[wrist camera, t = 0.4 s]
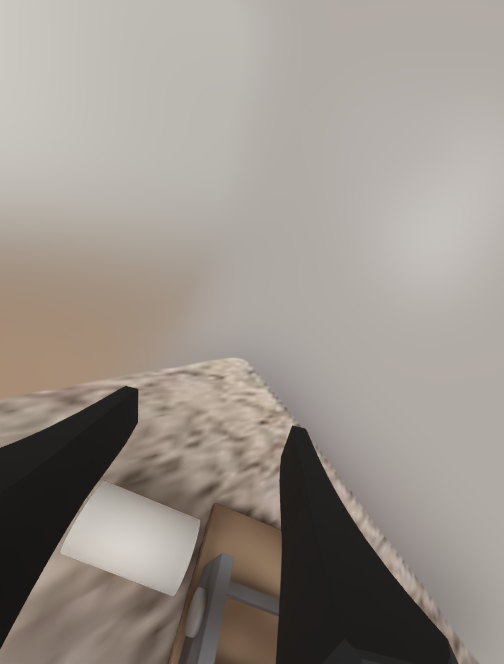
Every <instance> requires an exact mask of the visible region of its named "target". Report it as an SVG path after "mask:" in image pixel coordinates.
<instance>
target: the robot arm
mask: <svg viewBox="0 0 504 664" xmlns="http://www.w3.org/2000/svg"><path fill="white" fill-rule="evenodd" d="M137 423H138V389H136V388H132V387H128V386H125V387H123V388H121V389H119V390H117V391H116V392H114V393H112V394H110V395H109V396H107V397H105V398H103V399H102V400H100V401H98V402H96V403H94V404H93V405H91V406H89V407H87V408H85V409H84V410H82V411H80V412H78V413H76V414H74V415H72V416H70V417H68V418H66V419H64V420H62V421H60V422H58V423H56V424H54V425H52V426H50V427H48V428H46V429H44V430H42V431H40V432H37V433H35V434H33V435H31V436H28V437H26V438H24V439H21V440H19V441H17V442H14V443H12V444H9V445H6V446H4V447H1V448H0V649H1V647H2V645H3V643H4V641H5V639H6V637H7V635H8V633H9V632H10V630H11V628H12V626H13V624H14V622H15V620H16V618H17V617H18V615H19V613H20V611H21V609H22V607H23V605H24V604H25V602H26V600H27V598H28V596H29V594H30V592H31V591H32V589H33V587H34V585H35V583H36V582H37V580H38V578H39V576H40V575H41V573H42V571H43V569H44V567H45V566H46V564H47V562H48V560H49V559H50V557H51V555H52V553H53V552H54V550H55V548H56V547H57V545H58V543H59V542H60V540H61V538H62V537H63V535H64V533H65V531H66V530H67V528H68V526H69V525H70V523H71V522H72V520H73V518H74V517H75V515H76V513H77V512H78V510H79V509H80V507H81V505H82V504H83V502H84V501H85V499H86V498H87V496H88V495H89V493H90V492H91V490H92V489H93V488H94V486H95V485H96V484H97V482H98V481H99V480H100V478H101V477H102V476H103V474H104V473H105V471H106V470H107V469H108V467H109V466H110V465H111V463H112V462H113V461H114V459H115V458H116V456H117V455H118V454H119V452H120V451H121V450H122V448H123V447H124V445H125V444H126V442H127V441H128V439H129V437H130V436H131V434H132V432H133V430H134V428H135V427H136V425H137ZM279 481H280V509H281V534H282V558H281V582H280V601H279V619H278V635H277V650H276V664H458V662H457V659H456V657H455V655H454V653H453V651H452V648H451V646H450V644H449V642H448V639H447V638H446V637H445V636H444V635H443V633H442V632H441V631H440V630H439V629H438V628H437V627H436V625H435V624H434V623H433V622H432V621H431V620H430V619H429V618H428V616H427V615H426V614H425V613H424V612H423V611H422V610H421V608H420V607H419V606H418V605H417V604H416V603H415V602H414V600H413V599H412V598H411V597H410V596H409V595H408V593H407V592H406V591H405V590H404V588H403V587H402V586H401V585H400V583H399V582H398V581H397V580H396V579H395V577H394V576H393V575H392V574H391V572H390V571H389V570H388V568H387V567H386V566H385V564H384V563H383V562H382V560H381V559H380V558H379V556H378V555H377V554H376V552H375V551H374V550H373V548H372V547H371V546H370V544H369V543H368V541H367V540H366V539H365V537H364V536H363V534H362V533H361V531H360V530H359V528H358V527H357V525H356V524H355V522H354V521H353V519H352V518H351V516H350V514H349V513H348V511H347V510H346V508H345V506H344V505H343V503H342V501H341V500H340V498H339V496H338V494H337V492H336V491H335V489H334V487H333V485H332V483H331V481H330V480H329V478H328V476H327V474H326V472H325V470H324V468H323V466H322V464H321V462H320V460H319V457H318V455H317V453H316V451H315V449H314V446H313V444H312V442H311V439H310V437H309V435H308V432H307V430H306V429H305V428H301V427H296V426H292V428H291V430H290V433H289V436H288V439H287V442H286V444H285V447H284V450H283V453H282V456H281V465H280V480H279Z"/></svg>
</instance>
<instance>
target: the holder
mask: <svg viewBox="0 0 504 664" xmlns="http://www.w3.org/2000/svg"><path fill="white" fill-rule="evenodd" d="M281 558H282V534H281V530H279V529H277V528H274V527H272V526H270V525H267V524H265V523H262V522H260V521H258V520H255V519H253V518H250V517H248V516H246V515H243V514H241V513H238V512H236V511H234V510H231V509H229V508H227V507H224V506H222V505H219V504H217V503H215V504H214V505H213V507H212V510H211V514H210V517H209V521H208V525H207V528H206V532H205V535H204V539H203V542H202V546H201V549H200V553H199V556H198V560H197V563H196V567H195V570H194V574H193V577H192V581H191V584H190V588H189V592H188V595H187V599H186V602H185V606H184V609H183V613H182V616H181V620H180V623H179V627H178V630H177V634H176V637H175V641H174V644H173V648H172V651H171V655H170V658H169V662H168V664H276V650H277V635H278V619H279V601H280V582H281Z"/></svg>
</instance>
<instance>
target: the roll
mask: <svg viewBox="0 0 504 664" xmlns="http://www.w3.org/2000/svg"><path fill="white" fill-rule="evenodd" d="M199 527H200V520H199V519H197V518H194V517H192V516H190V515H187V514H185V513H182V512H180V511H177V510H175V509H172V508H170V507H168V506H165V505H163V504H160V503H158V502H155V501H153V500H151V499H148V498H146V497H143V496H141V495H138V494H136V493H134V492H131V491H129V490H126V489H124V488H121V487H119V486H116V485H114V484H112V483H109V482H107V481H104V482H103V483H102V484H101V485H100V486H99V487H98V488H97V489H96V491H95V492H94V493H93V495H92V496H91V498H90V499H89V500H88V502H87V503H86V505H85V506H84V508H83V509H82V511H81V513H80V514H79V516H78V517H77V519H76V521H75V522H74V524H73V526H72V528H71V530H70V531H69V533H68V535H67V537H66V539H65V541H64V543H63V546H62V548H61V552H60V553H61V554H63V555H66V556H68V557H71V558H74V559H76V560H79V561H81V562H84V563H87V564H89V565H92V566H94V567H97V568H100V569H102V570H105V571H107V572H110V573H113V574H115V575H118V576H121V577H123V578H126V579H128V580H131V581H134V582H136V583H139V584H141V585H144V586H147V587H149V588H152V589H154V590H157V591H160V592H162V593H165V594H167V595H170V596H174V595H175V594H176V592H177V591H178V589H179V587H180V585H181V582H182V580H183V578H184V575H185V573H186V570H187V568H188V565H189V562H190V560H191V557H192V554H193V550H194V547H195V544H196V540H197V537H198V532H199Z"/></svg>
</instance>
